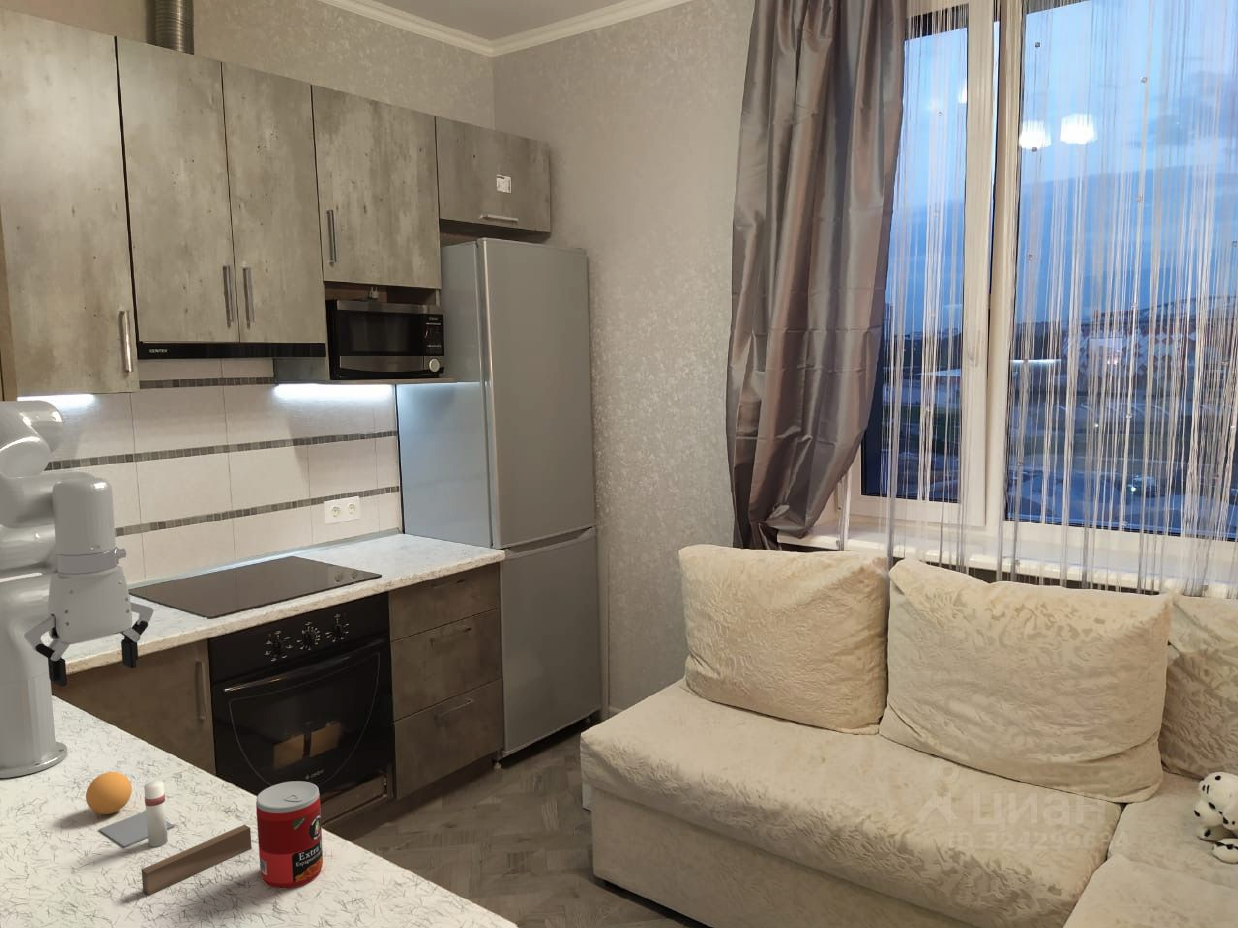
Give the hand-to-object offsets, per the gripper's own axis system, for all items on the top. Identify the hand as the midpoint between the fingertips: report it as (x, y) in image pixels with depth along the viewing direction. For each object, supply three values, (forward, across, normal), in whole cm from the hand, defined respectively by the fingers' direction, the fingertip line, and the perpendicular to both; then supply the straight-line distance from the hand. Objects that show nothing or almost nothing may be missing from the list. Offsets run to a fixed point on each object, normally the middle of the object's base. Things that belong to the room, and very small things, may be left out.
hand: (95, 675), depth 134 cm
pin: (+21, 0, +16) cm, 26 cm away
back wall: (+21, 0, +27) cm, 34 cm away
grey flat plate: (+21, 0, +9) cm, 23 cm away
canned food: (+21, -7, +38) cm, 44 cm away
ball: (+18, 0, +1) cm, 18 cm away
